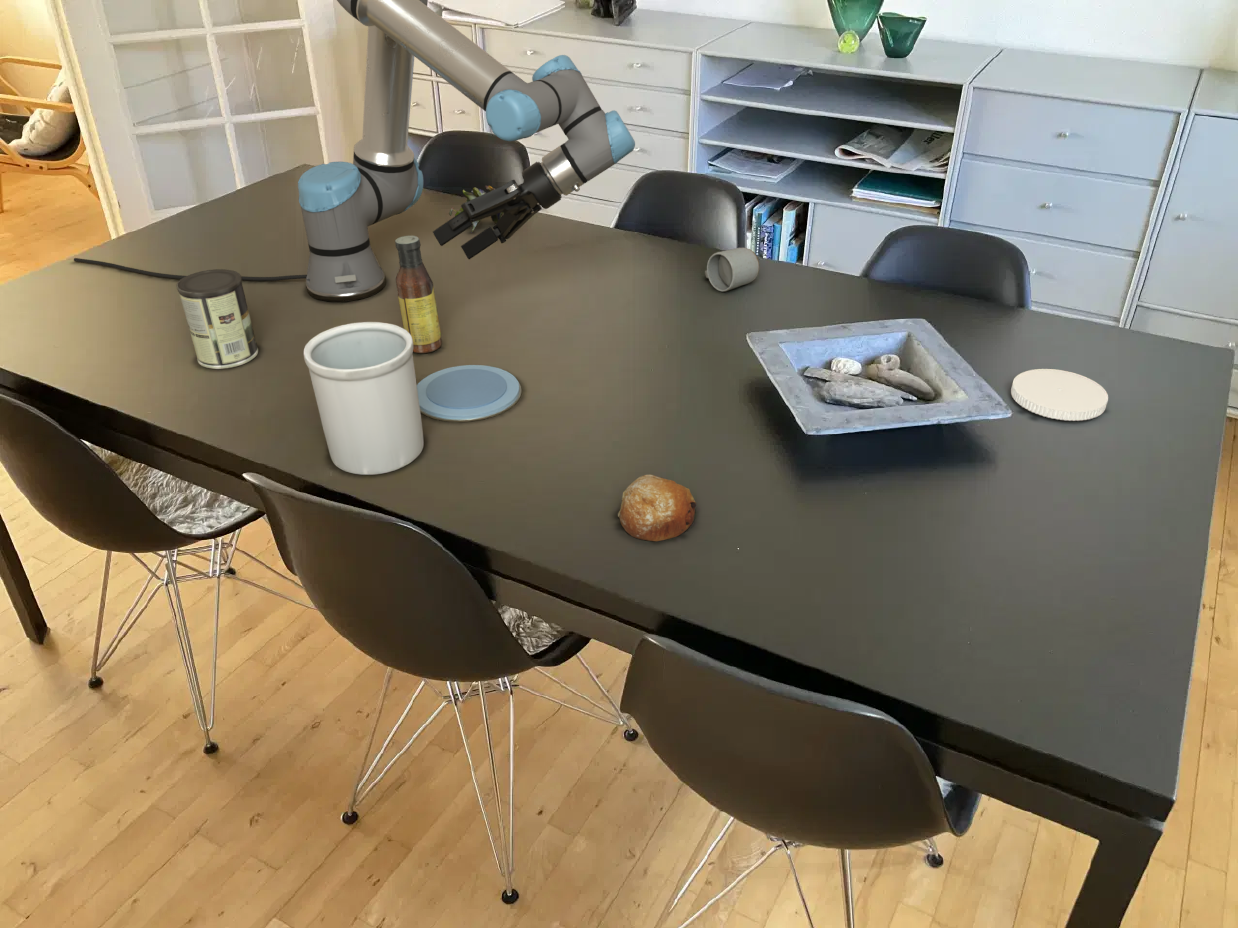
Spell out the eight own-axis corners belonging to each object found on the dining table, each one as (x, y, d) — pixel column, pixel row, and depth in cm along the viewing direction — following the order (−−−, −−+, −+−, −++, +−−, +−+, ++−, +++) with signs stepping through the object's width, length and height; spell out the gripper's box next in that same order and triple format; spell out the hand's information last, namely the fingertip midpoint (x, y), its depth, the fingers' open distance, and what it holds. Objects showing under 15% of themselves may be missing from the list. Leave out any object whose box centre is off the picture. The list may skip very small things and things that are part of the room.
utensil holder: (378, 489, 138) (359, 379, 128) (303, 459, 145) (280, 352, 135) (447, 441, 148) (434, 336, 139) (374, 416, 155) (357, 313, 145)
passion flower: (496, 245, 231) (523, 207, 224) (468, 252, 222) (495, 213, 216) (465, 211, 232) (490, 172, 226) (436, 217, 223) (461, 176, 217)
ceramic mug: (761, 285, 196) (763, 248, 192) (732, 296, 192) (733, 259, 188) (723, 271, 203) (724, 235, 199) (694, 281, 199) (695, 244, 195)
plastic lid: (1059, 435, 149) (1063, 420, 147) (990, 394, 159) (993, 381, 158) (1123, 412, 154) (1128, 398, 152) (1053, 375, 164) (1056, 361, 163)
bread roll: (629, 520, 137) (603, 478, 133) (696, 490, 136) (672, 447, 131) (636, 565, 129) (609, 522, 125) (707, 534, 127) (682, 489, 123)
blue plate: (390, 409, 157) (389, 402, 156) (449, 361, 170) (448, 355, 170) (487, 431, 151) (487, 424, 150) (540, 380, 164) (539, 373, 164)
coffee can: (226, 338, 179) (208, 265, 171) (271, 349, 175) (254, 274, 167) (183, 362, 171) (162, 286, 163) (229, 374, 167) (209, 296, 160)
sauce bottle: (449, 344, 176) (437, 237, 165) (425, 358, 172) (411, 249, 161) (421, 336, 179) (407, 230, 168) (397, 349, 174) (382, 241, 164)
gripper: (543, 179, 158) (435, 252, 162) (579, 212, 182) (485, 275, 186) (519, 140, 158) (413, 213, 162) (559, 178, 183) (465, 241, 186)
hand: (451, 246), depth 174 cm, fingers open, 13 cm apart
